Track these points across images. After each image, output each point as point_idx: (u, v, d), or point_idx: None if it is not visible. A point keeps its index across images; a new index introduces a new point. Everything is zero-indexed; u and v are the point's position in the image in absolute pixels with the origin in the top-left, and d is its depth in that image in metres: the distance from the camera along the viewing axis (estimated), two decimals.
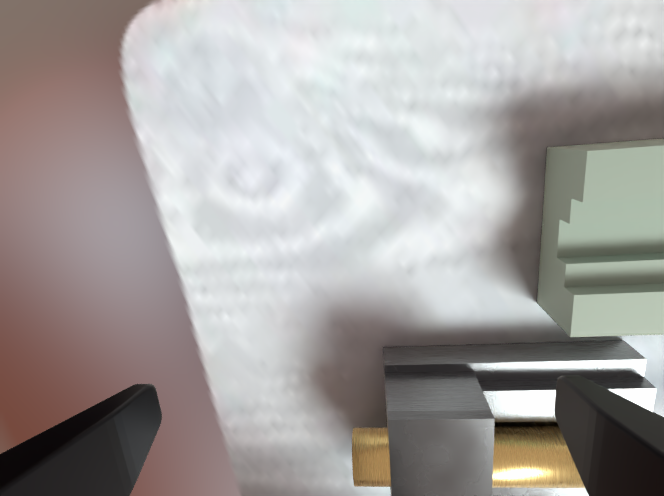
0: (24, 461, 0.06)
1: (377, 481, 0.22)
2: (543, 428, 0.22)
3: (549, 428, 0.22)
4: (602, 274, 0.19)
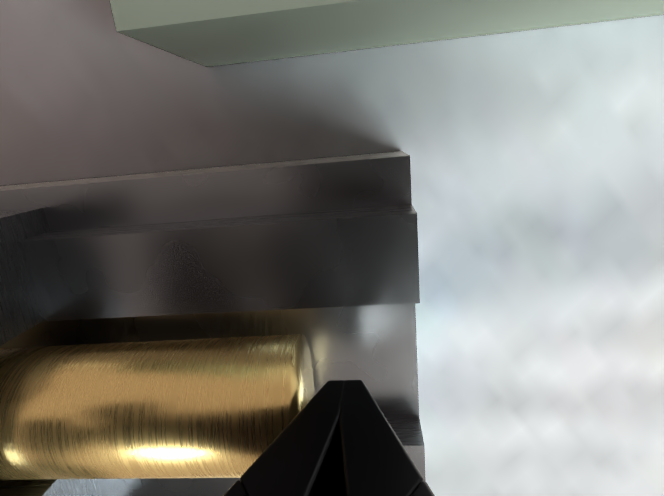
0: (299, 462, 0.06)
1: None
2: (152, 344, 0.09)
3: (163, 344, 0.09)
4: None
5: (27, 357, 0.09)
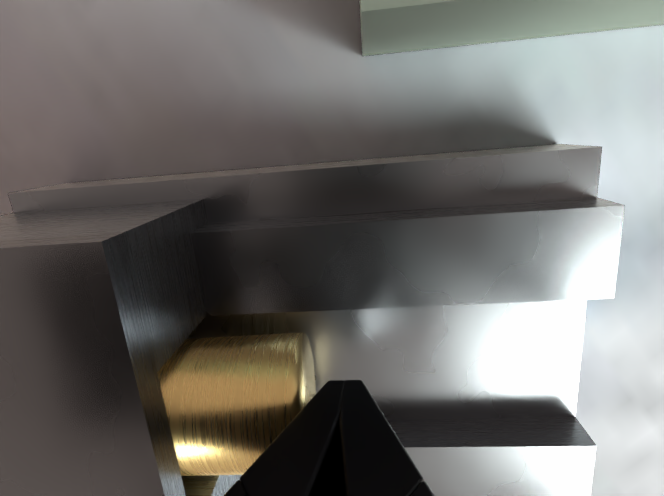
0: (299, 461, 0.06)
1: None
2: None
3: None
4: None
5: None
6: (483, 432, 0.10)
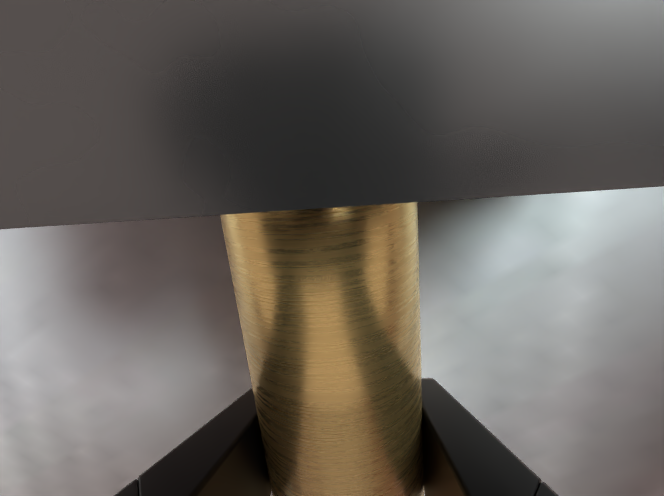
0: (200, 461, 0.06)
1: None
2: None
3: None
4: None
5: None
6: None
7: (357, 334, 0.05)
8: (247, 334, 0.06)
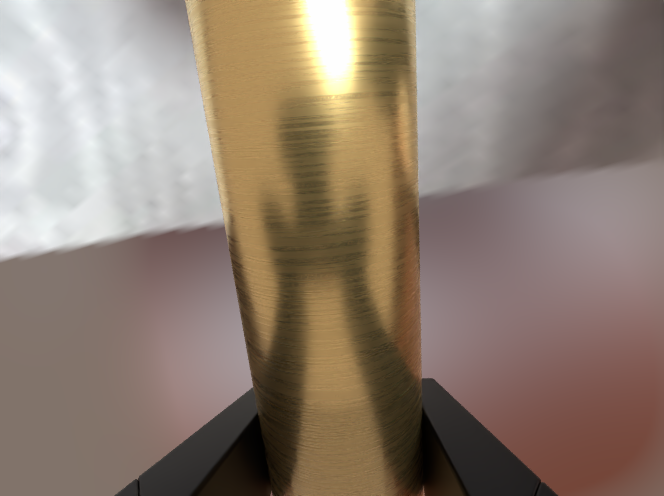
0: (200, 461, 0.06)
1: None
2: None
3: None
4: None
5: None
6: None
7: (358, 331, 0.05)
8: (249, 332, 0.06)
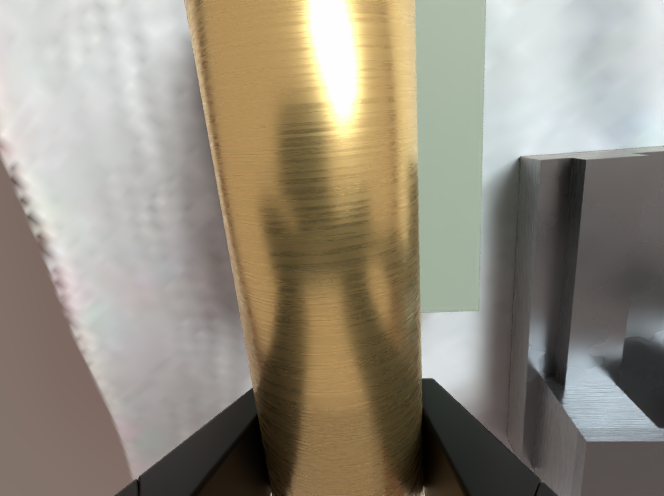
0: (200, 462, 0.06)
1: None
2: None
3: None
4: None
5: None
6: None
7: (358, 337, 0.05)
8: (249, 337, 0.06)
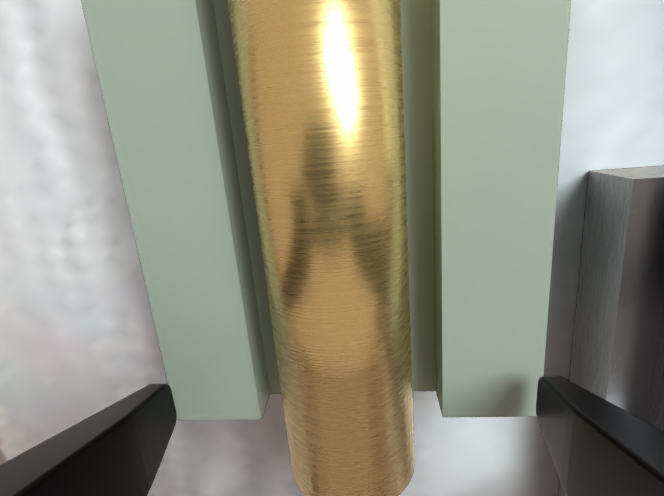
0: (46, 461, 0.06)
1: (355, 463, 0.08)
2: None
3: None
4: (411, 331, 0.10)
5: None
6: None
7: (355, 286, 0.07)
8: (272, 291, 0.08)
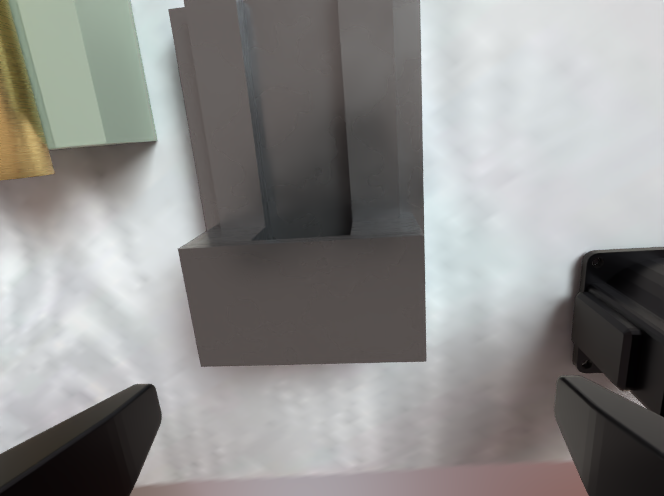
0: (24, 461, 0.06)
1: None
2: None
3: None
4: None
5: None
6: None
7: None
8: None
